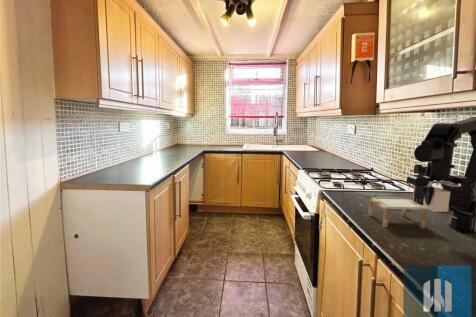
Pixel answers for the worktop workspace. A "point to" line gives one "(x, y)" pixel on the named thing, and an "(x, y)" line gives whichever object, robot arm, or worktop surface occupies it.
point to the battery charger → (418, 195)
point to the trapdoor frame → (386, 210)
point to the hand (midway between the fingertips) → (435, 204)
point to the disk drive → (384, 196)
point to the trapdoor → (399, 204)
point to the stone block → (438, 201)
